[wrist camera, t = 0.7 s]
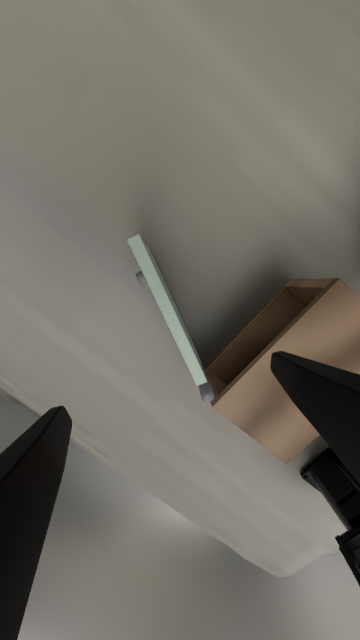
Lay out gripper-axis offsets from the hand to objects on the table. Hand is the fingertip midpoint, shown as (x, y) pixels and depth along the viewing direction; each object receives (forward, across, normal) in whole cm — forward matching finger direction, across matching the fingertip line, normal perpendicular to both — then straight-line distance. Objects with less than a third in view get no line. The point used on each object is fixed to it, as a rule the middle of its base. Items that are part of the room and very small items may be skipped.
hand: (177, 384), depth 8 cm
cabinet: (+10, -13, +9) cm, 19 cm away
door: (+13, -2, +2) cm, 14 cm away
